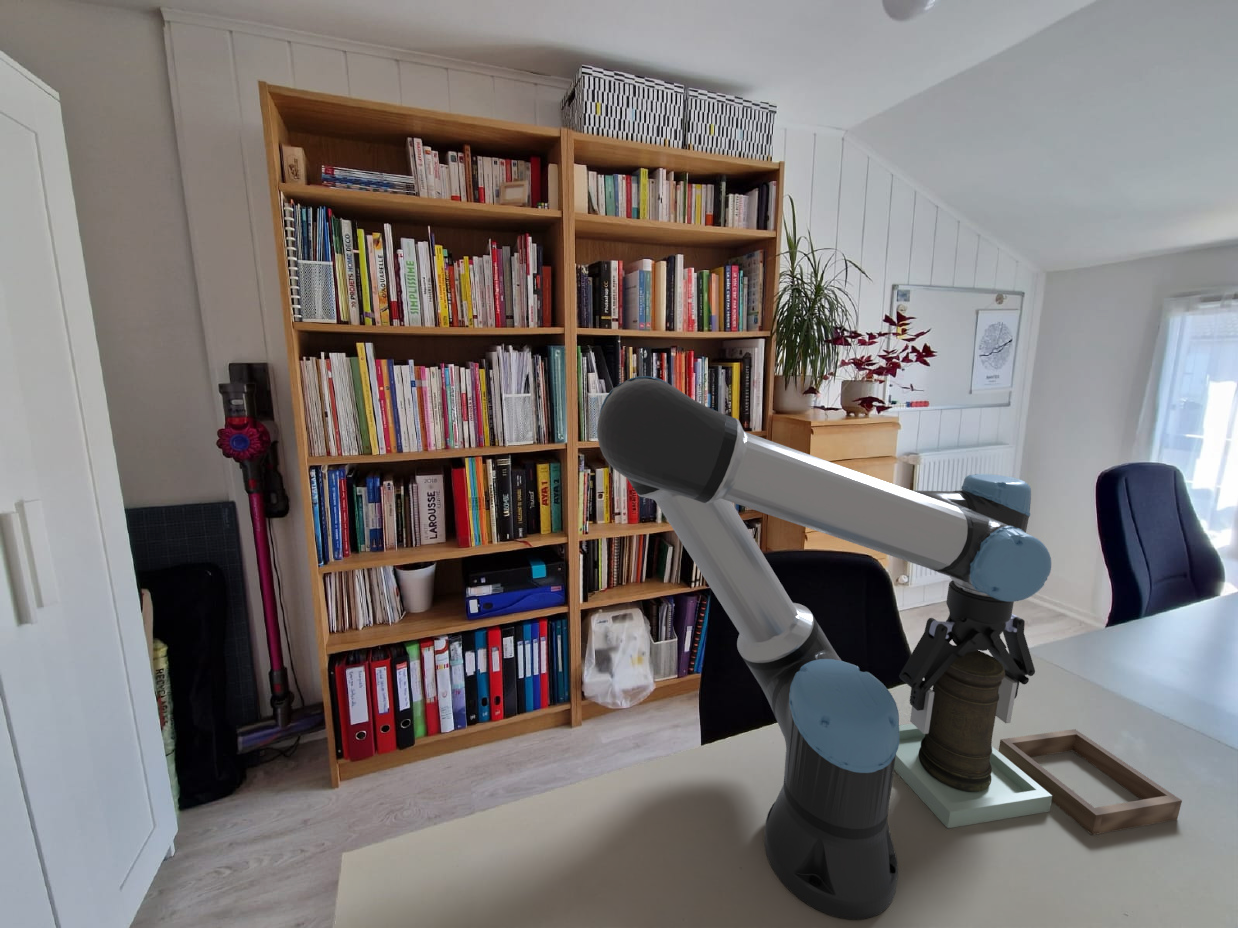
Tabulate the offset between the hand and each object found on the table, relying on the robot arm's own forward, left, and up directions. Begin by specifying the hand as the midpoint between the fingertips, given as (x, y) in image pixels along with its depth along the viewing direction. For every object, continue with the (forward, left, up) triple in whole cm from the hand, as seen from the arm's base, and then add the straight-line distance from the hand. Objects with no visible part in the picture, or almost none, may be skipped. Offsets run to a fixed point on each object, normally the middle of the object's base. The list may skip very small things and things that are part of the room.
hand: (960, 722), depth 76 cm
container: (0, 0, -8) cm, 8 cm away
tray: (0, 0, -9) cm, 9 cm away
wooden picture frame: (+17, -5, -9) cm, 20 cm away
